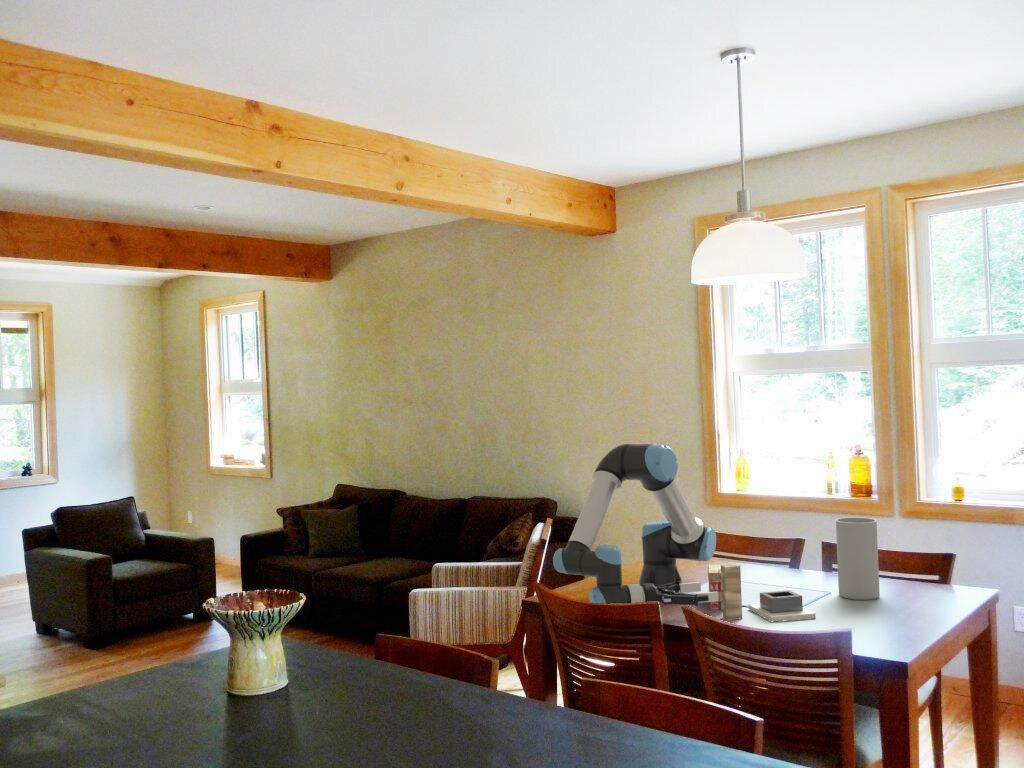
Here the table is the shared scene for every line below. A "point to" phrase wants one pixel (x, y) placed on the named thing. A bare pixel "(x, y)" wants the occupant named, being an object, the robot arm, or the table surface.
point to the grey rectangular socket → (781, 601)
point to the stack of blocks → (715, 585)
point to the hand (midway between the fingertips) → (708, 591)
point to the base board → (782, 614)
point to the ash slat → (731, 591)
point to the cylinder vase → (857, 558)
